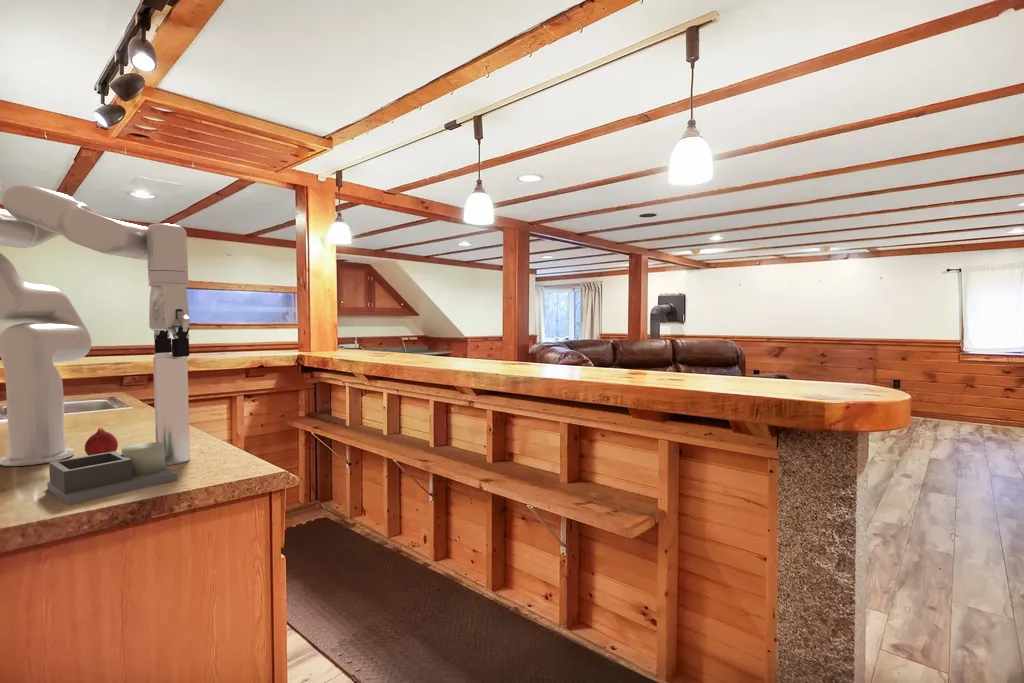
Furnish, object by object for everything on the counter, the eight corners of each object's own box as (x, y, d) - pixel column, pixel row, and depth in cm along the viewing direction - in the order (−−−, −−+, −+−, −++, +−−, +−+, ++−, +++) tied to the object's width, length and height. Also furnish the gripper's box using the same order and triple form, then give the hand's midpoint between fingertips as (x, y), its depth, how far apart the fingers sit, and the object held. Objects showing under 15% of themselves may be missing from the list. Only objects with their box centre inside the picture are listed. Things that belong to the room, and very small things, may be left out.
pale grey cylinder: (177, 465, 112) (174, 353, 111) (149, 465, 112) (145, 353, 111) (196, 457, 119) (193, 351, 117) (169, 457, 119) (166, 351, 118)
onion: (124, 460, 116) (123, 425, 116) (96, 467, 111) (95, 431, 110) (107, 457, 118) (106, 424, 118) (79, 464, 113) (77, 429, 112)
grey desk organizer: (47, 488, 97) (46, 455, 96) (151, 467, 110) (150, 438, 110) (68, 504, 88) (66, 468, 88) (177, 480, 102) (176, 448, 102)
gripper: (135, 281, 116) (138, 355, 116) (164, 276, 105) (168, 358, 106) (172, 283, 122) (175, 353, 122) (203, 279, 111) (206, 356, 112)
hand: (172, 355), depth 114 cm, fingers open, 9 cm apart
